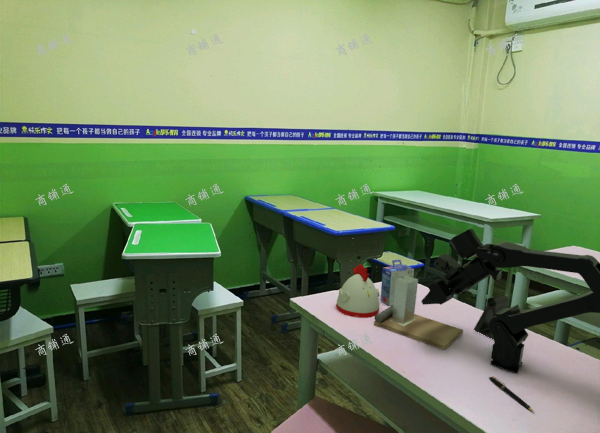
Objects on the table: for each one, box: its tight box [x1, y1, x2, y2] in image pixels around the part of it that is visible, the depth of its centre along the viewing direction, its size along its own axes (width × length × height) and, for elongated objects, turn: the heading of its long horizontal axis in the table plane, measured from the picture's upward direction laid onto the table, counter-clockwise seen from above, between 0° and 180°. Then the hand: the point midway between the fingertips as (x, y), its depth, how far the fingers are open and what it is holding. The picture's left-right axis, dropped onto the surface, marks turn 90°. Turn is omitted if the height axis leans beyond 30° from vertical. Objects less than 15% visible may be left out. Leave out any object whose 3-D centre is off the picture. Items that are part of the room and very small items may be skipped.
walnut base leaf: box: [373, 305, 464, 351], centre depth 136 cm, size 22×14×4 cm, turn 51°
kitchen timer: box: [335, 264, 381, 319], centre depth 147 cm, size 14×14×15 cm
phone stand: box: [473, 294, 510, 340], centre depth 134 cm, size 9×6×12 cm, turn 32°
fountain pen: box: [488, 376, 535, 412], centre depth 104 cm, size 14×1×2 cm, turn 18°
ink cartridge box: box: [380, 259, 415, 307], centre depth 155 cm, size 10×6×14 cm, turn 116°
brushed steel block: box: [392, 276, 419, 325], centre depth 138 cm, size 5×6×13 cm
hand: (430, 298), depth 132 cm, fingers open, 9 cm apart
